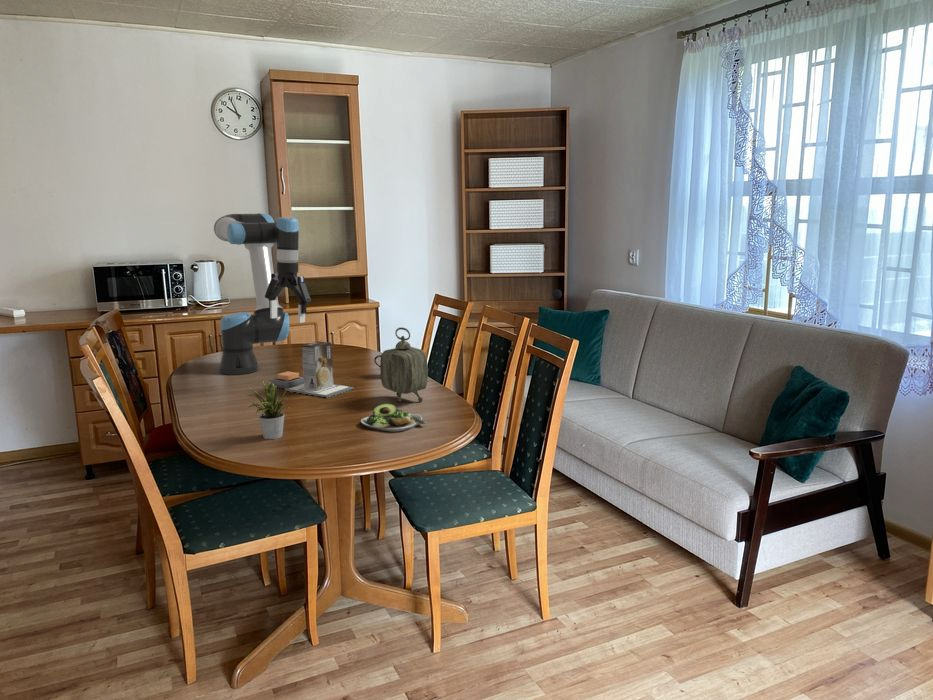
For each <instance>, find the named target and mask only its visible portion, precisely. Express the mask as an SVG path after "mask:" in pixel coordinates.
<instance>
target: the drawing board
mask: <svg viewBox="0 0 933 700" xmlns="http://www.w3.org/2000/svg"><path fill="white" fill-rule="evenodd" d="M290 389H291V390H290ZM351 389H353V390H354V386H349V385H348V386H347V385H342V384H336V383H334V385H333V386H330V387H328V388H325V389H322V390H319V391H313V390H306V389H304V383H303V384H299V385H296V386H293V387H289V388H286V389H284V391H285V390H286V391H289V392H288V393H293V392H296V393H295V394H299V393H302V394H301V395H305V394H308V395H307V396H311V395H314V396H313V397H317V396H321V397H320V398H323V397H326V398H325V399H329V398H332V397H334V396H333V395H335V396H338V395H340V393H341V394H343V392H344V393H347V392H349V390H350V391H352V390H351ZM286 391H285V392H286ZM346 391H347V392H346ZM337 394H338V395H337ZM331 396H332V397H331ZM328 397H329V398H328Z"/></svg>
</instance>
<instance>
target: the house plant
mask: <svg viewBox="0 0 933 700" xmlns="http://www.w3.org/2000/svg"><path fill="white" fill-rule="evenodd" d="M262 382H263V383H262V384H263V386H264V387H263V388H264V396H265V399H264V397H262V396H261V395H260V394H259V392H258V391H256V390H255V389H254V388H251V387H249V386H247V388H249V389H250V390H252V391H253V392H255V393H253V392H251V394H253V395H250V396H254V397H255V398H257V400H259V401H260V402H256V403H254V402H253V401H245V402H246V403H247V402H248V403H251V405H249V406H248V408H247V409H249V408H252V407H255V408H257V410H256V413H258V412H261V414H259V415H258V419H259V420H258V421H259V424H260V428H261V433H262V437H263V439H265V440H277V439H280V438H282V437H283V432H284V424H285V423H284V421H285V413H284V412H282V411H283V410H284V409H286V408H287V406H284V403H282V402H284V401H285V400H291V398H283V396H284V395H285V394H286V393H288V392H287V391H286V390H284V392H283V393H282V394H281V395H280V397H279V398H278V399H277V397H278V396H277V395H278V388H277V386H276V385H275V387H274V384H273V383H274V382H273V383H272V386H271V382H270V381H269V383H268V384H267V382H266V381H265V380H262ZM290 390H291V389H290ZM246 394H248V395H249V394H250V392H248V393H246ZM282 398H283V399H282ZM262 405H263V406H262ZM283 406H284V407H283ZM288 408H289V409H291V408H290V406H288Z"/></svg>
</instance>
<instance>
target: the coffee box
mask: <svg viewBox="0 0 933 700" xmlns="http://www.w3.org/2000/svg"><path fill="white" fill-rule="evenodd" d="M332 350H333V349H332V342H329V341H327V342H326V341H320V340H319V341H315V342H310V343H306V344H302V345H301V358H302V359H301V361H302V374H303V376H302V377H303V378H304V389H306V390H313V391H319V390H322V389H325V388H328V387H330V386H333V385H334V384H335V383H334V369H333V368H334V367H333V351H332Z"/></svg>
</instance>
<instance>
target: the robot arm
mask: <svg viewBox="0 0 933 700" xmlns="http://www.w3.org/2000/svg"><path fill="white" fill-rule="evenodd" d="M213 231H214V234H215V236H216V237H217V238H218V239H220V240H221V241H224V242H228V243H229V244H230V245H238V246H239V245H244V248H245V249H246V250H248V252H249V258H250V265H251V266H250V267H251V274H252V279H253V287H254V293H255V302H256V308H255V309H254V310H253V315H252V314H251V312H250V311H240V312H233V313H229V314H226V315H224V316H222V318H220V335H221V347H222V348H221V349H222V354H221V358H220V363H219V367H218V368H219V369H218V371H219V373H220V374H222V375H227V376H228V375H229V376H230V375H235V376H236V375H245V374H252V373H255V372H257V371H259V370H260V369H259V363H258V360H257V357H256V355H255V353H254V348H253V346H254V344H255V345H256V344H264V343H265V344H266V343H267V344H268V343H276V342H283V341H285V340H287V338H288V336H289V333H290V316H289V313H288V312H286V311H284V308H283V306H281V305H280V304H279V299H278V298H279V297H278V296H279V295H280V293H281V292H282V291H283V289H284V288H287V289H290V290H292V292H293V294H294V296H295V297H296V299H297V300H298V302H299V304H298V305H297V306H298V307H297V309H298V311H297V316H298V317H297V321H298V322H297V323H298V324H299V323H300V324H302V323H306V313H307V305H309V304H311V303H312V299H311V295H310V293H309V290H308V288H307V285H306V282H305V276H301V275H300V276H298V273H299V262H298V261H299V245H300V244H299V242H300V241H299V236H300V235H299V232H300V227H299V220H298V218H295V217H282V216H281V217H277V219H276V221H274V219H273V216H271V215H270V214H268V213H229V214H225V215H223V216H221V217H219V218H218V219H217V220H216V221H215V223H214V225H213ZM275 244H276V260H277V262H276V273H275V271H274V264H273V258H272V250H271V249H272V248H273V247H274V245H275Z"/></svg>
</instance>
